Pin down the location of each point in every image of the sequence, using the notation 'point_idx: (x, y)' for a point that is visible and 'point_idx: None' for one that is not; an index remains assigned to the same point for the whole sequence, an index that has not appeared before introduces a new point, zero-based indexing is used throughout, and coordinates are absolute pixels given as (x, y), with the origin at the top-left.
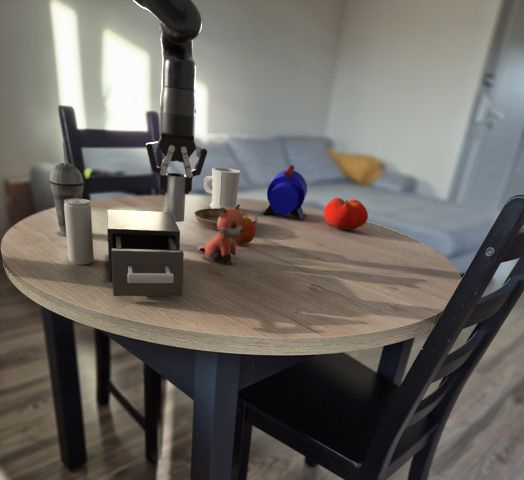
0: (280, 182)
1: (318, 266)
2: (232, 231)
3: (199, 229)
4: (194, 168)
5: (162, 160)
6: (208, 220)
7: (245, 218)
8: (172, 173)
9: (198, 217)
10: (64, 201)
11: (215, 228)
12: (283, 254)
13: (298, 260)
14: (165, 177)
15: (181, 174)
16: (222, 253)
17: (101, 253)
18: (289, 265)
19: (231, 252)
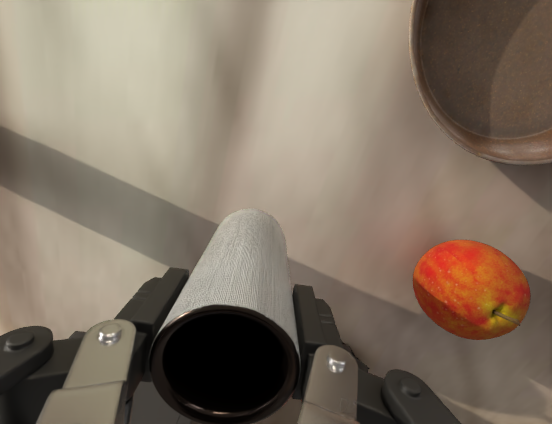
0: None
1: (529, 421)
2: None
3: (386, 87)
4: (400, 405)
5: (47, 400)
6: (427, 110)
7: (500, 328)
8: (209, 315)
9: (409, 48)
10: None
11: (440, 114)
12: (506, 347)
13: (512, 386)
14: (146, 375)
15: (278, 337)
16: None
17: (56, 310)
18: (465, 410)
19: (362, 364)
